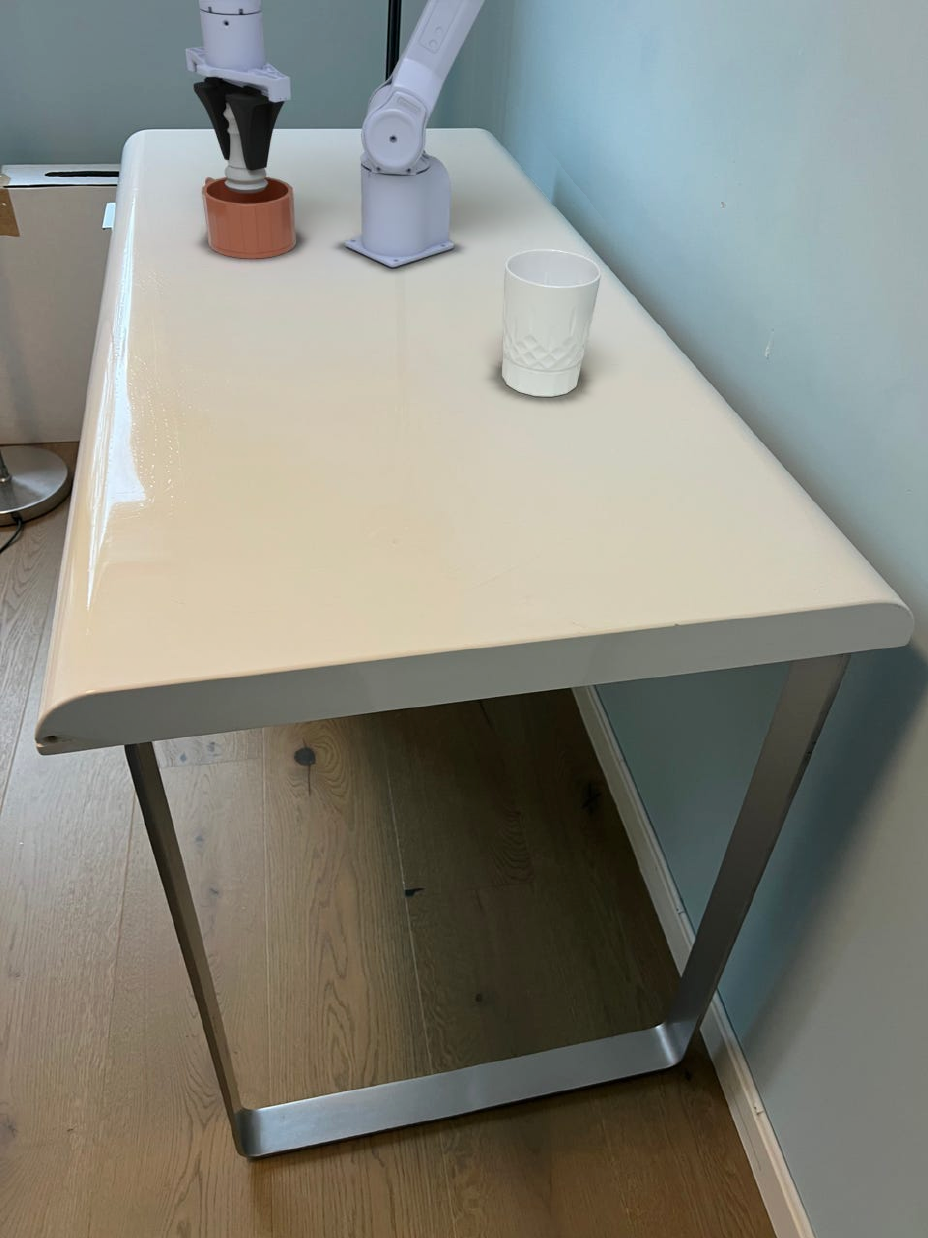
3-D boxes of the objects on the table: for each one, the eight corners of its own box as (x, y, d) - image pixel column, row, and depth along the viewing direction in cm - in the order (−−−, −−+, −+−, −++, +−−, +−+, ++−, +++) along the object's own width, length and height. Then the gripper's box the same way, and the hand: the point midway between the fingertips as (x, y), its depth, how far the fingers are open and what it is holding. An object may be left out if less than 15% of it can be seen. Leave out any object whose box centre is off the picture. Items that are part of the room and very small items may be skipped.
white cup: (579, 407, 80) (596, 292, 73) (488, 393, 81) (497, 279, 74) (588, 365, 86) (605, 255, 79) (503, 352, 86) (513, 243, 80)
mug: (313, 245, 103) (310, 192, 99) (242, 265, 98) (236, 211, 94) (246, 212, 109) (241, 162, 106) (175, 230, 104) (168, 178, 100)
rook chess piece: (227, 179, 100) (218, 96, 95) (269, 181, 101) (263, 98, 95) (223, 193, 97) (213, 108, 92) (267, 195, 97) (260, 110, 92)
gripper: (150, -2, 90) (172, 151, 99) (241, 27, 82) (255, 189, 92) (213, -7, 94) (228, 140, 103) (304, 20, 86) (312, 176, 95)
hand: (245, 163), depth 97 cm, fingers closed on rook chess piece, 3 cm apart
